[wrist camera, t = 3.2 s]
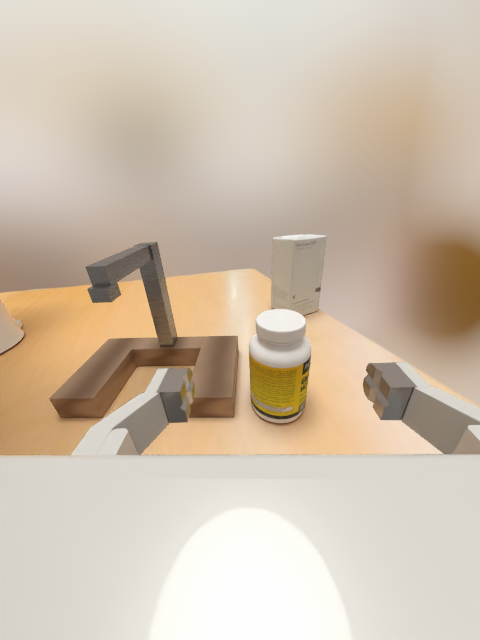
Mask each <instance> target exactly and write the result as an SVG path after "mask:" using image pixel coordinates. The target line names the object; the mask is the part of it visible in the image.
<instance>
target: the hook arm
mask: <svg viewBox="0 0 480 640" xmlns="http://www.w3.org/2000/svg"><path fill="white" fill-rule="evenodd" d="M138 268H140V271H141V275H142V279H143V283H144V287H145V291H146V294H147V298H148V302H149V306H150V310H151V314H152V317H153V321H154V325H155V329H156V333H157V337H158V340H159V344H160V347H174V345H175V343H176V341H177V339H178V338H177V333H176V328H175V324H174V319H173V314H172V310H171V305H170V300H169V295H168V291H167V286H166V281H165V277H164V272H163V267H162V263H161V258H160V253H159V249H158V244H157V242H151V243H140V244H138V245H135V246H134V247H132V248H129V249H127V250H125V251H122V252H120V253H118V254H116V255H113V256H110V257H108V258H106V259H103V260H101V261H99V262H96V263H94V264H91V265H89V266H87V267H86V269H87V272H88V275H89V277H90V280H91V283H92V285H93V286H92V287H90V288H88V292H89V294H90V297H91V300H92V302H93V303H99V302H112V301H113V300H115V299H116V298H117V297H119V296H120V295H121V293H120V290H119V287H118V284H117V281H119V280H120V279H122V278H124V277H125V276H127V275H128V274H130V273H132V272H133V271H135V270H136V269H138Z"/></svg>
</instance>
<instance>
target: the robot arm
mask: <svg viewBox="0 0 480 640" xmlns="http://www.w3.org/2000/svg"><path fill="white" fill-rule="evenodd" d="M22 325H23V324H22V322H21V321H20V320H15V319H14V318H13V316H12V315H11V314H10V312H9V311H8V310H7V308H6V307H5V306H4V304H3V303H2V302H1V300H0V353H2V352H4V351H6V350H8V349H9V348H11V347H12V346H14V345H15V344H17V343H18V342H19V341H20V340H21V339H22V338H23V336H24V331H23V330H22V329H21V327H22ZM366 371H367V373H368V375H367V376H366V377H365V378H364V382H363V388H364V392H365V395H366V397H367V398H368V399H369V400H370V401H372V402H373V403H374V405H373V408H374V410H375V412H376V413H377V415H378V417H379V418H380V420H402V422H403V423H405V424H406V425H407V426H409V427H410V428H411V429H412V430H414V431H415V432H416V433H418V434H419V435H420V436H422V437H423V438H424V439H425V440H427V441H428V442H429V443H431V444H432V445H433V446H434V447H436V448H437V449H438V450H440V451H441V452H442V453H444V454H335V455H140V454H141V453H142V452H143V451H144V450H145V449H146V448H147V447H148V446H149V445H150V444H151V443H152V441H153V440H154V439H155V438H156V437H157V436H158V435H159V434H160V433H161V432H162V431H163V430H164V429H165V428H166V426H167V425H168V424H169V423H178V422H188V418H189V415H190V411H191V408H190V404H192V403H193V401H194V397H195V385H194V382H193V381H192V380H191V378H192V371H191V369H190V368H159V369H158V370H157V371H156V373H155V374H154V376H153V378H152V380H151V382H150V383H149V385H148V387H147V389H146V391H145V392H144V393H140V394H139V395H137V396H136V397H135V398H133V399H132V400H130V401H129V402H127V403H126V404H124V405H123V406H121V407H120V408H118V409H117V410H116V411H114V412H113V413H111V414H110V415H108V416H107V417H105V418H104V419H102V420H101V421H100V422H98V423H97V424H95V425H94V426H92V427H91V428H90V429H89V430H88V432H87V433H86V435H85V436H84V437H83V439H82V440H81V442H80V443H79V444H78V446H77V447H76V449H75V450H74V451H73V453H72V454H71V455H0V640H480V408H479V407H477V406H474V405H472V404H470V403H468V402H466V401H464V400H462V399H460V398H458V397H455V396H453V395H451V394H449V393H447V392H445V391H443V390H441V389H439V388H436V387H431V386H430V385H429V384H428V383H427V382H426V381H425V380H424V379H423V378H422V377H421V376H420V375H419V374H418V373H417V372H416V371H415V370H414V369H413V368H412V367H411V366H410V365H409V364H408V363H406V362H392V363H369V364H368V366H367V369H366Z"/></svg>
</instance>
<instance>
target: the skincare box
mask: <svg viewBox="0 0 480 640" xmlns="http://www.w3.org/2000/svg"><path fill="white" fill-rule="evenodd" d="M326 237H327V236H323V235H308V234H300V235H289V236H282V237H275V238H272V287H271V310H273V309H287V310H292V311H295V312H298V313H300V314H301V315H302V316H303V315H306V314H309V313H312V312H315V311H317V310H318V305H319V297H320V289H321V280H322V271H323V263H324V254H325V246H326Z"/></svg>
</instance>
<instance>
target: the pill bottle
mask: <svg viewBox="0 0 480 640" xmlns="http://www.w3.org/2000/svg"><path fill="white" fill-rule="evenodd" d="M305 331H306V319H305V318H304V316H302V315H301V314H300V313H298V312H295V311H292V310H287V309H273V310H268V311H265V312H262V313H261V314H259V315H258V316H257V318H256V334H255V335H254V336H253V337H252V339H251V341H250V344H249V362H250V390H251V403H252V407H253V409H254V410H255V412H256V413H257V414H258V415H259V416H260V417H262V418H263V419H265V420H267V421H270V422H274V423H287V422H291V421H293V420H295V419H297V418H298V417H299V416H300V415H301V414H302V412H303V410H304V407H305V402H306V393H307V385H308V376H309V368H310V359H311V345H310V342H309V340H308V339H307V338H306V337H305V336H304V335H305Z"/></svg>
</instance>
